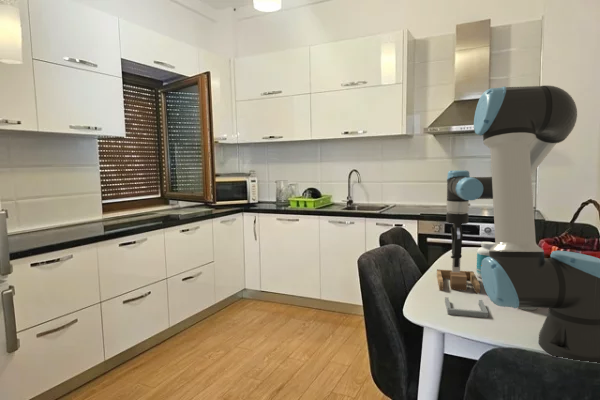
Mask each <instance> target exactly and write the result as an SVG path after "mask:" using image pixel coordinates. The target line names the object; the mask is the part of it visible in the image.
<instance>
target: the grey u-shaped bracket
mask: <svg viewBox="0 0 600 400" xmlns="http://www.w3.org/2000/svg"><path fill="white" fill-rule="evenodd" d="M444 303H445V307H446V312H447V313H446V314H447V315H452V316H462V317H463V316H465V317H477V318H486V319H488V318H489V311H488V309H487V307H486V305H485V303H484V301H483V300H482V299H478V306H479V308H480V310H477V309H476V310H475V309H465V308H464V309H463V308H453V307H452V308H451V303H450V299H449V297H446V296H445V297H444Z"/></svg>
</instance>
